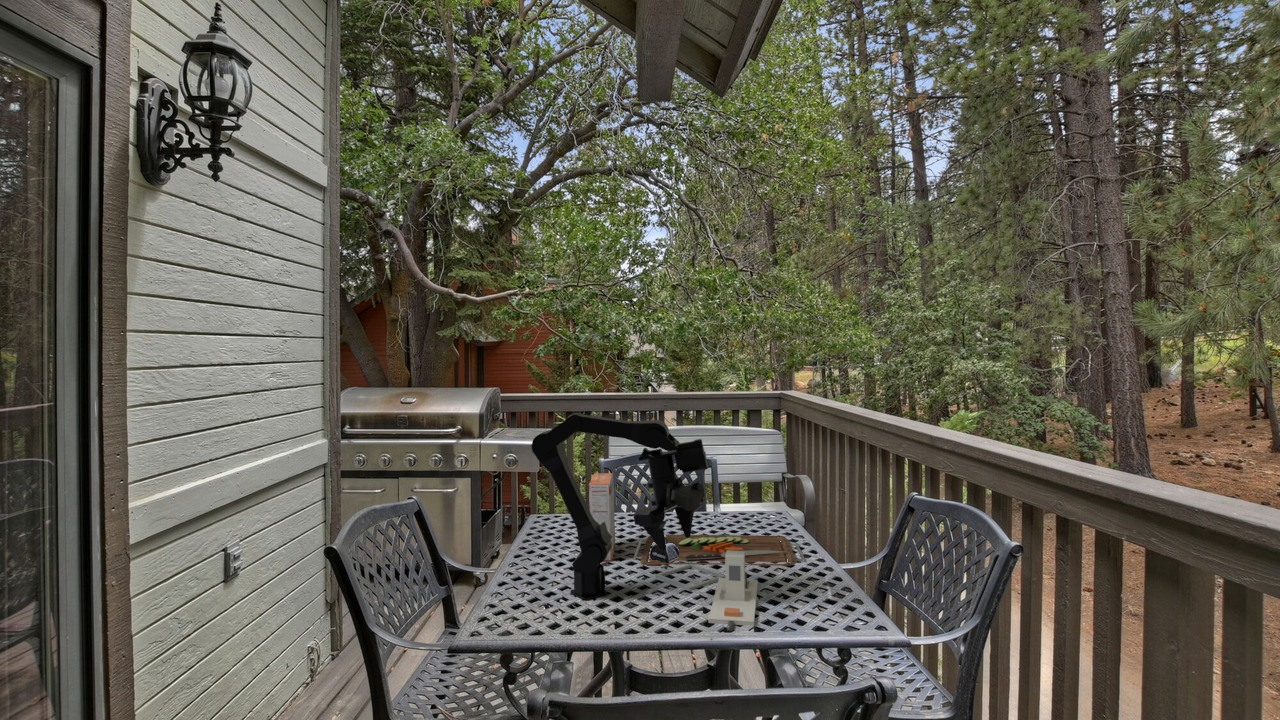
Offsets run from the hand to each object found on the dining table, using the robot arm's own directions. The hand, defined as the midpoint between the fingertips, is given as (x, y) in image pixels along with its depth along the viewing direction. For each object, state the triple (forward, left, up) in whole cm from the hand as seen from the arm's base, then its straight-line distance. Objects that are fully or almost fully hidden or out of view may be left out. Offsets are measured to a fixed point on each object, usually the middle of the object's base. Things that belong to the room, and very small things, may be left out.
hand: (676, 544), depth 152 cm
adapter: (+7, -11, -11) cm, 17 cm away
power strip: (+5, -13, -12) cm, 18 cm away
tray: (+9, +5, -12) cm, 16 cm away
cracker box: (+6, +37, -12) cm, 39 cm away
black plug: (+12, -7, -11) cm, 18 cm away
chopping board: (+30, +17, -13) cm, 37 cm away
